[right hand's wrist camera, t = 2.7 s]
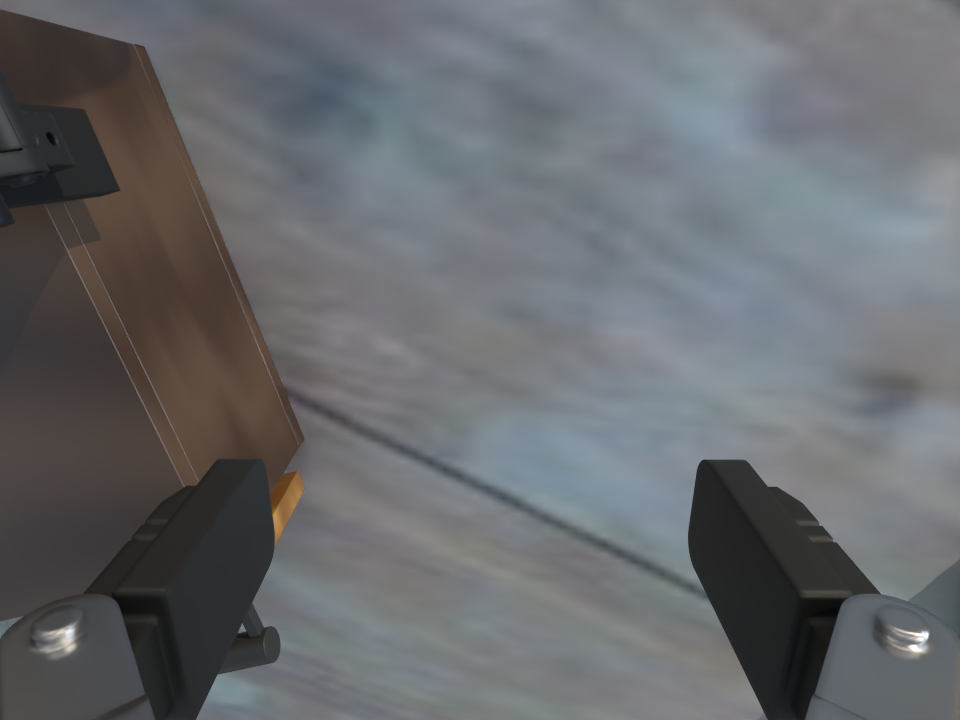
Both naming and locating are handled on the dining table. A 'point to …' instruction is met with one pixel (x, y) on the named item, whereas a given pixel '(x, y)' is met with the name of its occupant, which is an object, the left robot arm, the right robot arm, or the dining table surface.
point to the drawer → (257, 640)
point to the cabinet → (116, 331)
